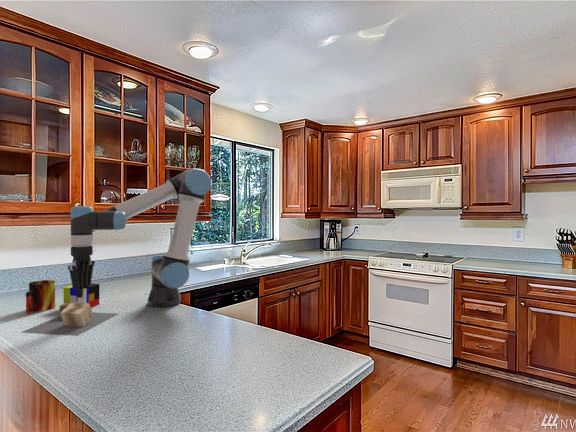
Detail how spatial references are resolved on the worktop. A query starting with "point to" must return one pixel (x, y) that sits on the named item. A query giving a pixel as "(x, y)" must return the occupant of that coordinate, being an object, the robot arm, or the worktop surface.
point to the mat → (60, 329)
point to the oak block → (76, 314)
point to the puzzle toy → (91, 296)
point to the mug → (40, 296)
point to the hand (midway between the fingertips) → (82, 304)
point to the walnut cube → (64, 306)
